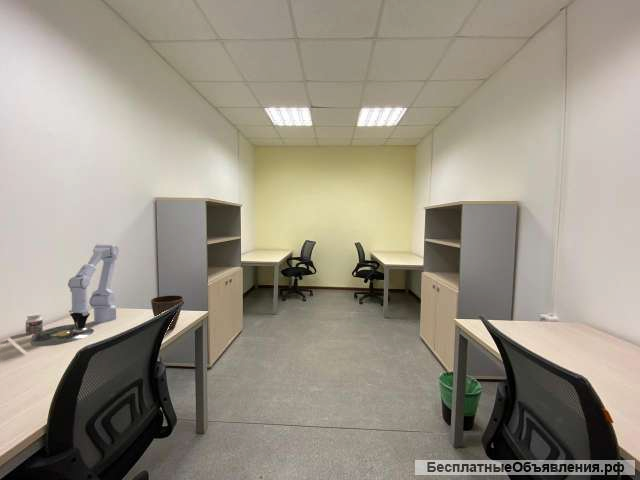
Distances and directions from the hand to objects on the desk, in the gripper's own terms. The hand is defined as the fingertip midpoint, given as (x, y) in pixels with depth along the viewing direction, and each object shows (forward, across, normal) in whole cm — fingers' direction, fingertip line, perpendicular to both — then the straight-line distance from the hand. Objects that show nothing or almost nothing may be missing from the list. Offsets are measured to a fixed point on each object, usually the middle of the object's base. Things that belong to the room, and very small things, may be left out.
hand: (80, 327), depth 134 cm
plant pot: (+4, +28, +28) cm, 40 cm away
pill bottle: (+4, -18, -12) cm, 22 cm away
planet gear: (+2, 0, 0) cm, 2 cm away
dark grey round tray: (+3, 0, -6) cm, 7 cm away
